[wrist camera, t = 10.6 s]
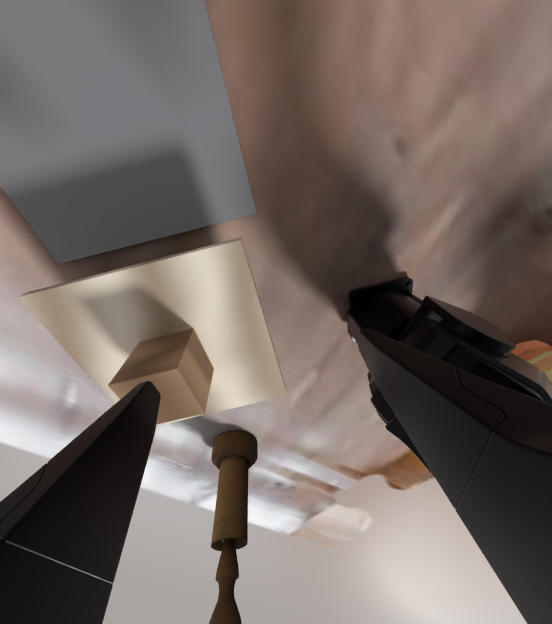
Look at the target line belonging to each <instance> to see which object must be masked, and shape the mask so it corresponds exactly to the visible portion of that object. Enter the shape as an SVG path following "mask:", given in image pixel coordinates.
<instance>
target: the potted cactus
mask: <svg viewBox="0 0 552 624" xmlns="http://www.w3.org/2000/svg"><path fill="white" fill-rule="evenodd" d="M511 353H513V354H515V355H516V356H518V357H520V358H522V359H523V360H525V361H527V362H528V363H530V364H532V365H534V366H535V367H537V368H539V369H540V370H542V371H543V372H544V373H545V374H546V376H547V377H548V378H549V380H550V381H551V383H552V347H550V346H549V345H548V344H547V343H544V342H541V341H538V340H532V341H527V342H522V343H518V344H516V348H515V349H514V350H513V351H512V352H511Z"/></svg>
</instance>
